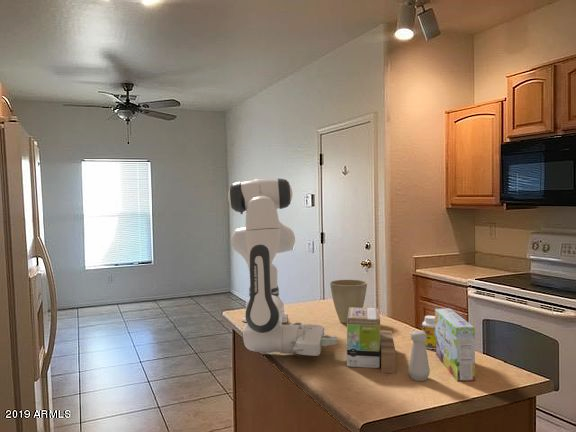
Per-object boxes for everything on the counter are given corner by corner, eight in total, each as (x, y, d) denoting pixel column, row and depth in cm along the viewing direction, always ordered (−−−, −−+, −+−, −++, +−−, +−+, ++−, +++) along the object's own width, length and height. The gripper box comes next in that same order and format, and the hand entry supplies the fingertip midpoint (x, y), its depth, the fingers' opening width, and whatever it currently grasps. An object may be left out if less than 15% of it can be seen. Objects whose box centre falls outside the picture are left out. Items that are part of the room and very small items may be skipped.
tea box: (381, 368, 137) (380, 318, 137) (346, 367, 139) (345, 317, 138) (379, 352, 152) (379, 306, 151) (348, 350, 154) (347, 306, 153)
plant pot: (374, 320, 190) (374, 281, 190) (354, 328, 179) (353, 287, 179) (344, 315, 200) (343, 277, 200) (322, 322, 189) (322, 282, 189)
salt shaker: (417, 384, 125) (417, 335, 125) (403, 376, 131) (403, 330, 130) (434, 380, 128) (434, 333, 127) (420, 373, 133) (420, 327, 133)
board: (379, 348, 155) (378, 330, 155) (391, 348, 155) (391, 330, 155) (381, 372, 134) (381, 352, 134) (395, 373, 133) (395, 352, 133)
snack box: (433, 355, 148) (433, 308, 147) (451, 355, 148) (451, 307, 147) (455, 381, 127) (455, 326, 126) (476, 381, 127) (476, 326, 126)
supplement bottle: (418, 346, 157) (418, 316, 157) (431, 343, 159) (431, 314, 159) (430, 351, 152) (430, 319, 152) (443, 348, 154) (443, 317, 154)
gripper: (288, 339, 138) (335, 340, 136) (297, 320, 159) (338, 322, 157) (288, 360, 139) (335, 362, 137) (297, 339, 159) (338, 340, 157)
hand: (337, 340), depth 147 cm, fingers closed
